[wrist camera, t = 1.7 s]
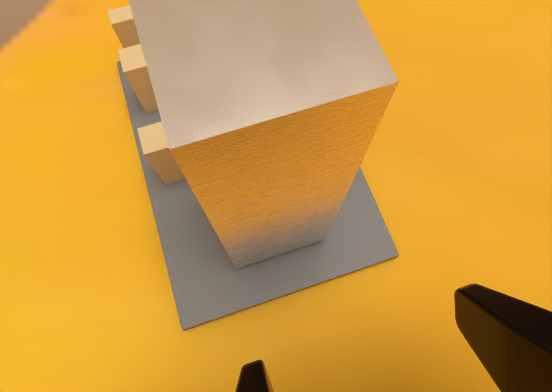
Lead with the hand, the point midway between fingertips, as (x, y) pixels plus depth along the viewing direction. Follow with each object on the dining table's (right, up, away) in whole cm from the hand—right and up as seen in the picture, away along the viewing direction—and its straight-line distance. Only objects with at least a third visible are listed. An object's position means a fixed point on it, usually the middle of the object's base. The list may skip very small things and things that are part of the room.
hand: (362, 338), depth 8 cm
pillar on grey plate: (-2, +2, +14) cm, 15 cm away
